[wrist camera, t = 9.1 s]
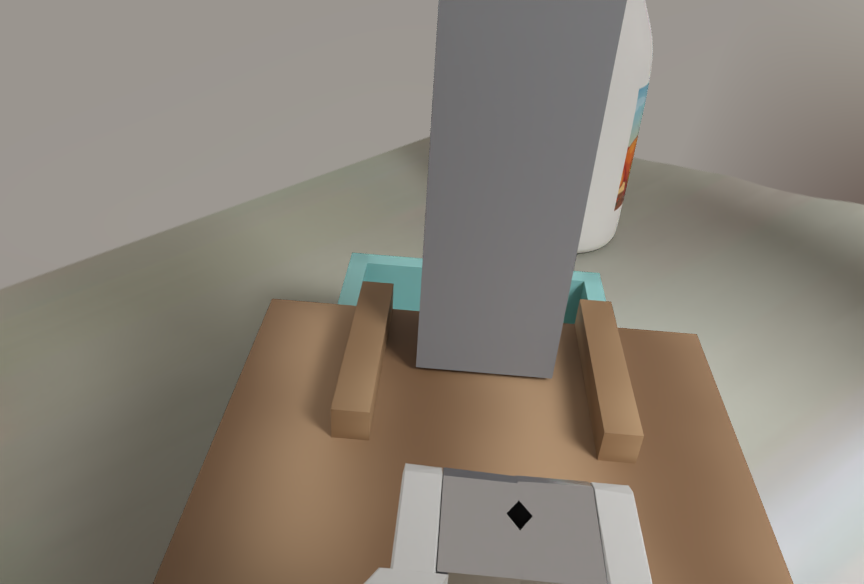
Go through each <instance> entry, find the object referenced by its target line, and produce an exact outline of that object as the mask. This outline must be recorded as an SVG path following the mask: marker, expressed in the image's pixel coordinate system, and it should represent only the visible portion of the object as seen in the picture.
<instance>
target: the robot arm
mask: <svg viewBox="0 0 864 584" xmlns="http://www.w3.org/2000/svg"><path fill="white" fill-rule="evenodd" d="M364 584H652V579H651V574H650V570H649V565H648V560H647V555H646V551H645V546H644V541H643V536H642V532H641V527H640V522H639V517H638V513H637V508H636V503H635V498H634V494H633V491H632V490H631V488H630V487H629V486H628V485H617V484H606V483H595V482H591V483H589V482H588V481H576V480H565V479H553V478H542V477H530V476H518V475H516V476H510V475H502V474H494V473H486V472H478V471H470V470H462V469H454V468H446V467H444V468H443V474H442V468H441V467H432V466H424V465H416V464H408V463H406V464H405V467H404V470H403V475H402V482H401V490H400V498H399V505H398V513H397V520H396V528H395V536H394V543H393V551H392V559H391V566H390V568H378V569H377V570H376V571H375V572H374V573H373V574H372V575H371V577H370V578H369V579H368V580H367V581H366V582H365V583H364Z"/></svg>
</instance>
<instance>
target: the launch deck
mask: <svg viewBox="0 0 864 584" xmlns="http://www.w3.org/2000/svg"><path fill="white" fill-rule="evenodd" d="M393 287H394V284H392V283H380V282H368V281H363V282H362V286H361V290H360V294H359V298H358V302H357V306H353V305H341V304H329V303H317V302H305V301H293V300H281V299H272V300H271V303H270V305H269V308H268V310H267V312H266V315H265V317H264V319H263V322H262V324H261V327H260V329H259V331H258V334H257V336H256V339H255V341H254V343H253V346H252V348H251V350H250V353H249V355H248V358H247V360H246V362H245V365H244V367H243V370H242V372H241V374H240V377H239V379H238V382H237V384H236V386H235V389H234V391H233V393H232V396H231V398H230V401H229V403H228V405H227V408H226V410H225V413H224V415H223V417H222V420H221V422H220V424H219V427H218V429H217V432H216V434H215V436H214V439H213V441H212V444H211V446H210V448H209V451H208V453H207V456H206V458H205V460H204V463H203V465H202V467H201V470H200V472H199V475H198V477H197V479H196V482H195V484H194V487H193V489H192V491H191V494H190V496H189V498H188V501H187V503H186V506H185V508H184V510H183V513H182V515H181V518H180V520H179V522H178V525H177V527H176V529H175V532H174V534H173V537H172V539H171V541H170V544H169V546H168V549H167V551H166V553H165V556H164V558H163V561H162V563H161V565H160V568H159V570H158V572H157V575H156V577H155V580H154V582H153V584H364V583H365V582H366V581H367V580H368V579H369V578H370V577H371V575H372V574H373V573H374V572H375V571H376V570H377V569H378V568H390V566H391V559H392V551H393V543H394V536H395V528H396V520H397V513H398V505H399V498H400V490H401V482H402V475H403V470H404V467H405V464H406V463H408V464H416V465H424V466H432V467H441V468H442V474H443V468H444V467H446V468H454V469H462V470H470V471H478V472H486V473H494V474H502V475H510V476H516V475H518V476H530V477H542V478H553V479H565V480H576V481H588V482H589V483H591V482H595V483H606V484H617V485H628V486H629V487H630V488H631V490H632V491H633V494H634V498H635V503H636V508H637V513H638V517H639V522H640V527H641V532H642V536H643V541H644V546H645V551H646V555H647V560H648V565H649V570H650V574H651V579H652V584H793V581H792V579H791V576H790V573H789V571H788V568H787V566H786V563H785V561H784V558H783V555H782V553H781V550H780V548H779V545H778V543H777V540H776V537H775V535H774V532H773V530H772V527H771V525H770V522H769V519H768V517H767V514H766V512H765V509H764V506H763V504H762V501H761V499H760V496H759V494H758V491H757V488H756V486H755V483H754V481H753V478H752V476H751V473H750V470H749V468H748V465H747V463H746V460H745V457H744V455H743V452H742V450H741V447H740V445H739V442H738V439H737V437H736V434H735V432H734V429H733V427H732V424H731V421H730V419H729V416H728V414H727V411H726V409H725V406H724V403H723V401H722V398H721V396H720V393H719V390H718V388H717V385H716V383H715V380H714V378H713V375H712V372H711V370H710V367H709V365H708V362H707V360H706V357H705V354H704V352H703V349H702V347H701V344H700V341H699V339H698V336H697V334H687V333H675V332H663V331H651V330H639V329H627V328H617V324H616V320H615V316H614V312H613V308H612V304H611V302H609V301H597V300H585V299H580V301H579V306H578V310H577V315H576V320H575V324H568V323H563V326H562V331H561V336H560V341H559V346H558V352H557V357H556V362H555V367H554V372H553V377H552V379H550V378H538V377H527V376H515V375H503V374H491V373H479V372H468V371H456V370H444V369H432V368H421V367H416V358H417V342H418V326H419V311H412V310H400V309H393Z"/></svg>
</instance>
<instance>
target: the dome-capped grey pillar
mask: <svg viewBox="0 0 864 584" xmlns="http://www.w3.org/2000/svg"><path fill="white" fill-rule="evenodd" d="M626 3H627V0H439V5H438V21H437V38H436V54H435V70H434V85H433V101H432V117H431V133H430V149H429V165H428V181H427V197H426V213H425V230H424V246H423V262H422V278H421V294H420V310H419V326H418V342H417V358H416V367H421V368H432V369H444V370H456V371H468V372H479V373H491V374H503V375H515V376H527V377H538V378H550V379H552V377H553V372H554V367H555V362H556V357H557V352H558V346H559V341H560V336H561V331H562V326H563V321H564V316H565V311H566V306H567V301H568V296H569V291H570V286H571V281H572V276H573V271H574V266H575V261H576V256H577V250H578V245H579V240H580V235H581V230H582V225H583V220H584V215H585V210H586V205H587V200H588V195H589V190H590V185H591V180H592V175H593V170H594V165H595V160H596V154H597V149H598V144H599V139H600V134H601V129H602V124H603V119H604V114H605V109H606V104H607V99H608V94H609V89H610V84H611V79H612V74H613V69H614V64H615V58H616V53H617V48H618V43H619V38H620V33H621V28H622V23H623V18H624V13H625V8H626Z"/></svg>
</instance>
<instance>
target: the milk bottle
mask: <svg viewBox="0 0 864 584" xmlns="http://www.w3.org/2000/svg"><path fill="white" fill-rule="evenodd" d="M652 56H653V42H652V32H651V26H650V21H649V17H648V12H647V7H646V2H645V0H627V3H626V8H625V13H624V18H623V23H622V28H621V33H620V38H619V43H618V48H617V53H616V58H615V64H614V69H613V74H612V79H611V84H610V89H609V94H608V99H607V104H606V109H605V114H604V119H603V124H602V129H601V134H600V139H599V144H598V149H597V154H596V160H595V165H594V170H593V175H592V180H591V185H590V190H589V195H588V200H587V205H586V210H585V215H584V220H583V225H582V230H581V235H580V240H579V245H578V250H577V253H584V252H590V251H594V250H597V249H599V248H601V247H603V246H605V245H606V244H607V243H608V242H609V241H610V240H611V239H612V238H613V236H614V235H615V232H616V229H617V225H618V221H619V217H620V213H621V208H622V204H623V200H624V195H625V191H626V187H627V182H628V178H629V173H630V169H631V165H632V160H633V156H634V151H635V147H636V142H637V137H638V133H639V128H640V124H641V119H642V115H643V110H644V105H645V101H646V96H647V90H648V85H649V79H650V74H651V67H652Z"/></svg>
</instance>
